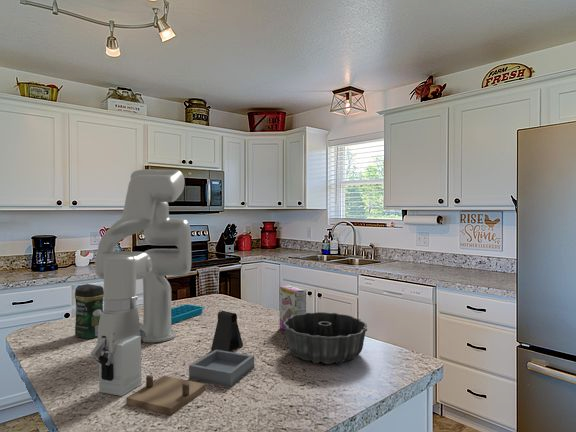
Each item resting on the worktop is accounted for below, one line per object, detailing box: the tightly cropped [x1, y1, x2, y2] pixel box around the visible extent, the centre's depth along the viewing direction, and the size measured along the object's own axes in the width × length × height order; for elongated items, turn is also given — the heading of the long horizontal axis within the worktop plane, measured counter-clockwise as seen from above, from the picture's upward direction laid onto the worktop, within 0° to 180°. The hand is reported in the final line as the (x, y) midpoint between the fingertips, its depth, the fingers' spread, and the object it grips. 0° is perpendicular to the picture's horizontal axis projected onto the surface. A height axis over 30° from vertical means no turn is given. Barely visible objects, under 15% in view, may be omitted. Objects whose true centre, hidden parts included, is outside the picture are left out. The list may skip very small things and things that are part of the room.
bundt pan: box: [283, 311, 368, 365], centre depth 122 cm, size 26×26×10 cm
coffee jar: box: [74, 283, 104, 340], centre depth 140 cm, size 10×8×19 cm
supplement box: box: [98, 336, 142, 397], centre depth 98 cm, size 7×7×13 cm
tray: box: [188, 350, 255, 388], centre depth 107 cm, size 13×13×4 cm
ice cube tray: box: [171, 303, 206, 325], centre depth 165 cm, size 12×20×3 cm, turn 151°
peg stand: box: [125, 374, 206, 416], centre depth 94 cm, size 13×13×4 cm
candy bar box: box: [278, 285, 307, 331], centre depth 145 cm, size 11×5×16 cm, turn 35°
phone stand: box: [210, 310, 244, 352], centre depth 127 cm, size 9×6×12 cm, turn 145°
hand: (120, 372), depth 98 cm, fingers closed on supplement box, 7 cm apart
